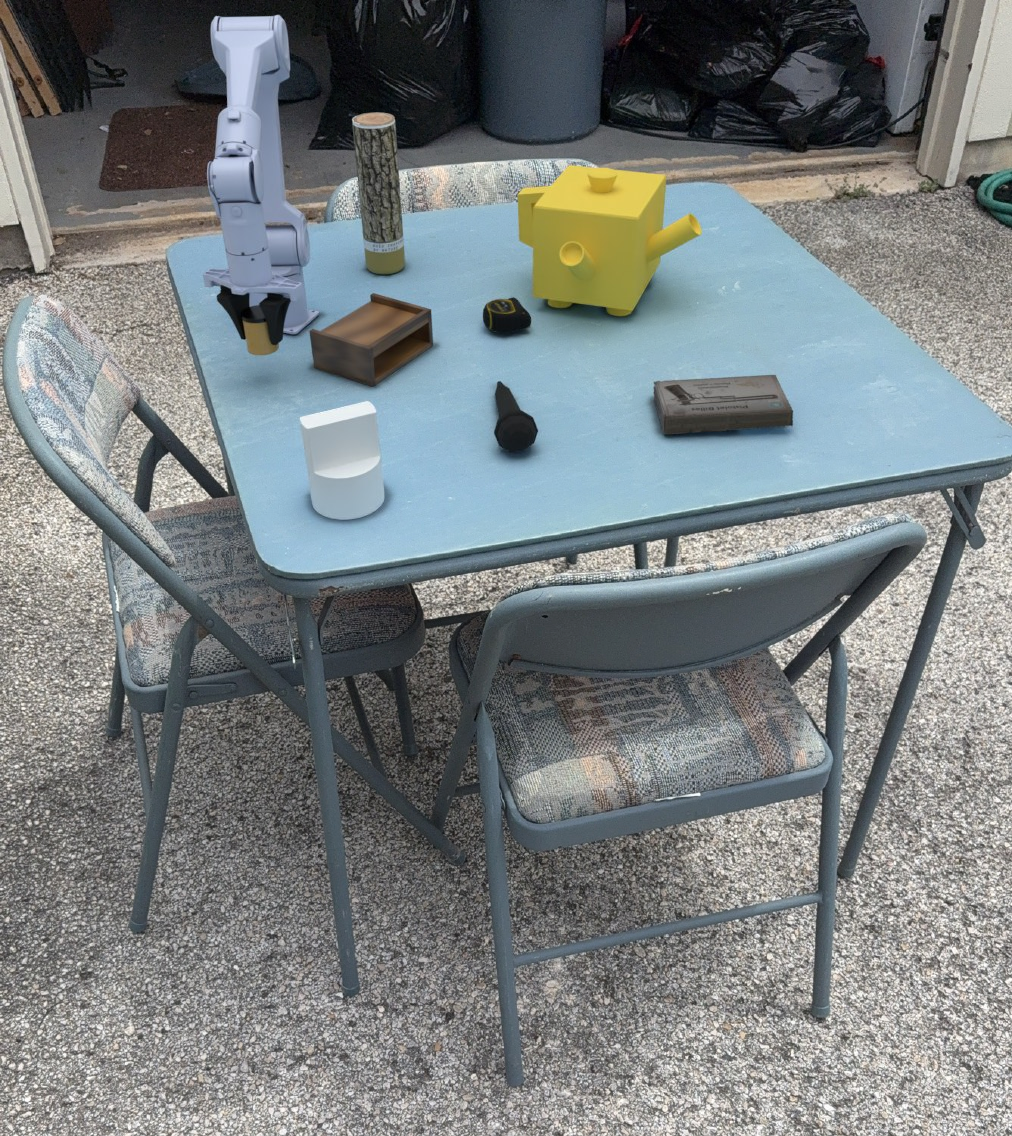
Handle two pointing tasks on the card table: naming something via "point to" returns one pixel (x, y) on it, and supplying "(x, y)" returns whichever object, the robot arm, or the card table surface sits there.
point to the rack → (373, 340)
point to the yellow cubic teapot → (598, 236)
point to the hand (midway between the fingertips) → (261, 339)
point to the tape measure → (505, 316)
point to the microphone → (513, 422)
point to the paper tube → (379, 191)
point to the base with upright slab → (344, 461)
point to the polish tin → (257, 332)
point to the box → (721, 404)
